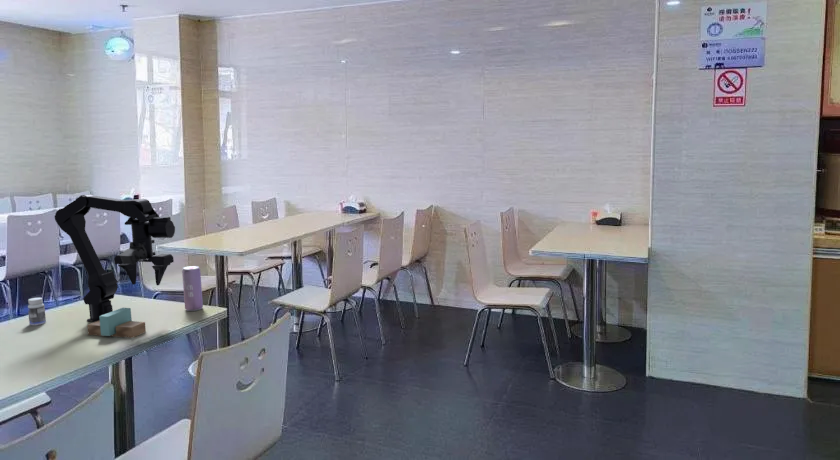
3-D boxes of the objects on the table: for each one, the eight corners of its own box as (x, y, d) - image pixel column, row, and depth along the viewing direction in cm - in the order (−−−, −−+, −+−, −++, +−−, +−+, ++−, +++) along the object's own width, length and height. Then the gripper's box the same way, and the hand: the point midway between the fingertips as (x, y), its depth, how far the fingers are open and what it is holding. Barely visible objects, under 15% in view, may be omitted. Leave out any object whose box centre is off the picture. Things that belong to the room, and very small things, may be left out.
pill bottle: (26, 324, 208) (23, 300, 207) (39, 321, 213) (36, 296, 212) (36, 326, 207) (33, 301, 206) (49, 322, 211) (46, 297, 210)
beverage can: (205, 307, 226) (202, 265, 224) (198, 311, 220) (195, 269, 218) (189, 307, 226) (186, 265, 224) (182, 311, 221) (178, 269, 219)
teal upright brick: (101, 335, 192) (99, 316, 191) (124, 326, 201) (122, 307, 200) (109, 335, 191) (107, 316, 190) (132, 326, 201) (130, 308, 200)
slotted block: (88, 334, 195) (87, 324, 195) (102, 329, 201) (101, 319, 201) (132, 337, 191) (131, 327, 191) (145, 331, 197) (145, 321, 197)
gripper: (99, 241, 201) (104, 289, 204) (150, 242, 197) (154, 291, 199) (124, 236, 212) (128, 281, 214) (172, 237, 207) (176, 283, 210)
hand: (145, 284), depth 209 cm, fingers open, 9 cm apart
